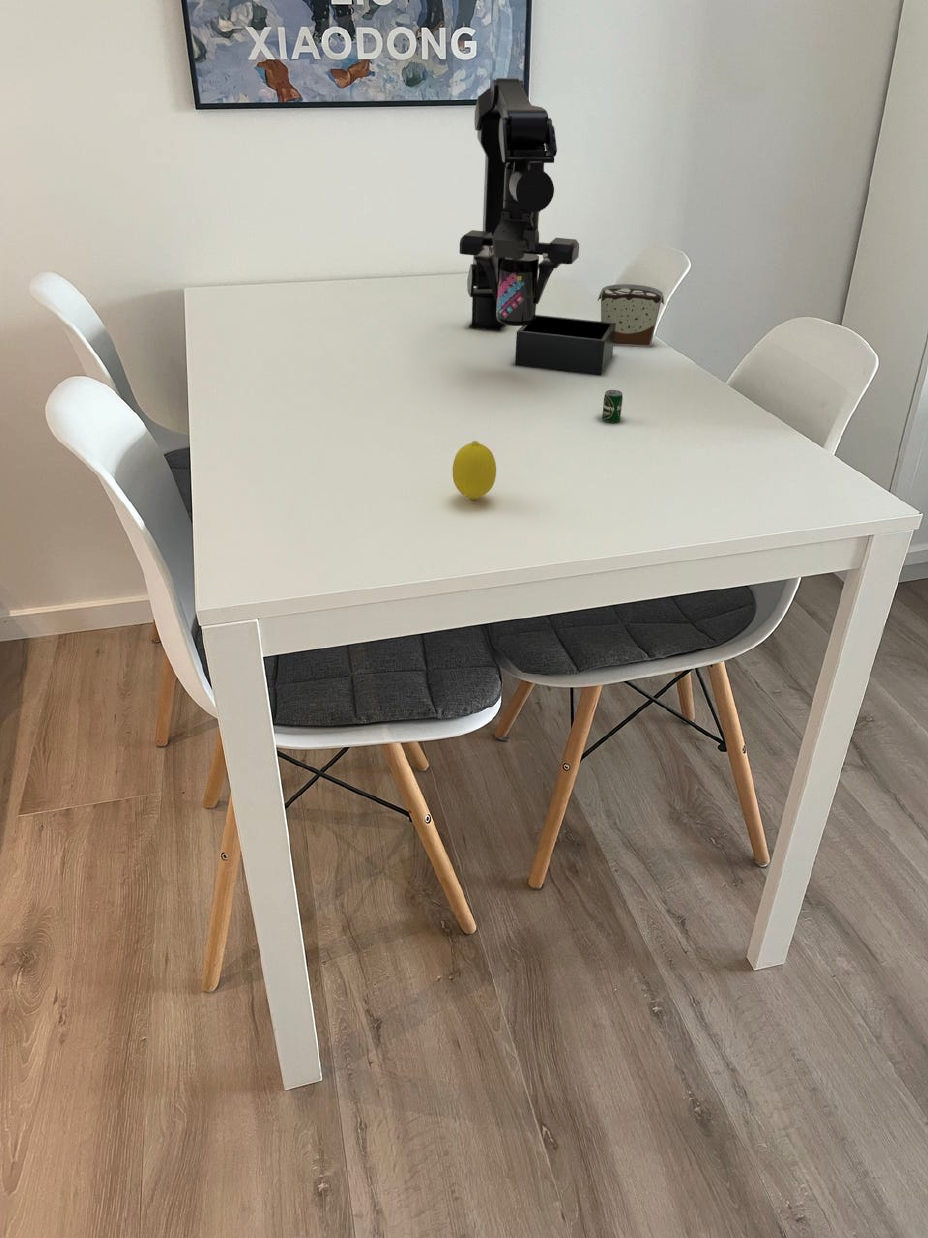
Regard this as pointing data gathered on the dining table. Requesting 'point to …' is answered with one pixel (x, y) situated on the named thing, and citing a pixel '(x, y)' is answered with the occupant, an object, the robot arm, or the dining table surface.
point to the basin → (565, 344)
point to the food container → (631, 312)
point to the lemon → (474, 470)
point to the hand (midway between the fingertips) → (516, 301)
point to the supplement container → (517, 290)
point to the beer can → (612, 406)
